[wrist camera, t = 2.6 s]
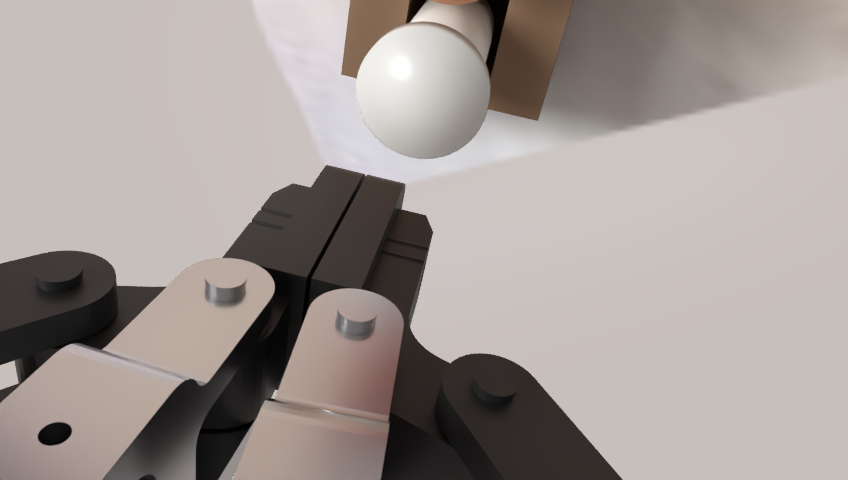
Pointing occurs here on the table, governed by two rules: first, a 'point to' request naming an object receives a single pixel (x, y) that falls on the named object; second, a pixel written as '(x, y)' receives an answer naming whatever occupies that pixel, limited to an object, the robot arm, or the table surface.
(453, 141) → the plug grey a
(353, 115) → the table surface
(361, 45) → the walnut block
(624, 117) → the table surface
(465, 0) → the plug terracotta
